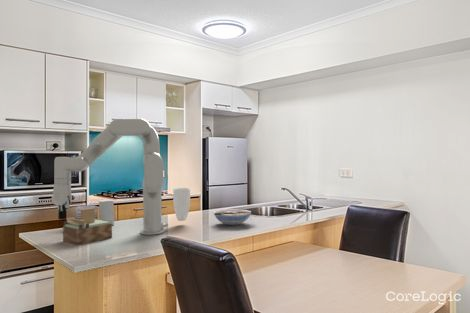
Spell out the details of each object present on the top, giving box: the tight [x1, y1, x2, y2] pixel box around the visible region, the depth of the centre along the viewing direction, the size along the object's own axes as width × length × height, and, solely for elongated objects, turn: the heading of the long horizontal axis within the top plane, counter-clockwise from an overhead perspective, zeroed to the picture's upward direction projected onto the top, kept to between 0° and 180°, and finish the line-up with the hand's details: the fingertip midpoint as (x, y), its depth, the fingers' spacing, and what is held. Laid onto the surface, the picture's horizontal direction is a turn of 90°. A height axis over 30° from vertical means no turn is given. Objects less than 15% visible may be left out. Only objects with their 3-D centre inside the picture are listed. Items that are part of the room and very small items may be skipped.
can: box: [75, 204, 99, 220], centre depth 206 cm, size 11×11×12 cm
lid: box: [65, 208, 110, 229], centre depth 175 cm, size 17×12×8 cm
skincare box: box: [98, 199, 115, 226], centre depth 211 cm, size 8×6×15 cm
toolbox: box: [62, 221, 113, 246], centre depth 175 cm, size 18×14×9 cm
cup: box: [172, 187, 191, 222], centre depth 211 cm, size 10×10×22 cm
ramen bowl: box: [212, 208, 253, 226], centre depth 213 cm, size 25×23×8 cm
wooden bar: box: [66, 217, 86, 226], centre depth 170 cm, size 2×14×2 cm, turn 54°
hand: (62, 218), depth 177 cm, fingers closed
